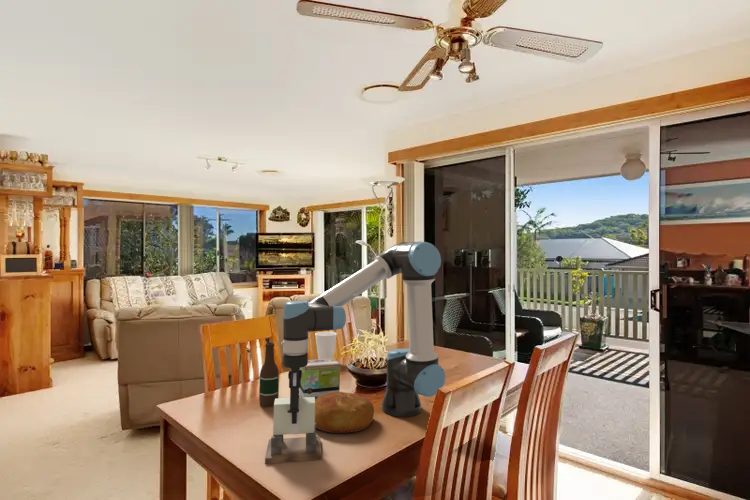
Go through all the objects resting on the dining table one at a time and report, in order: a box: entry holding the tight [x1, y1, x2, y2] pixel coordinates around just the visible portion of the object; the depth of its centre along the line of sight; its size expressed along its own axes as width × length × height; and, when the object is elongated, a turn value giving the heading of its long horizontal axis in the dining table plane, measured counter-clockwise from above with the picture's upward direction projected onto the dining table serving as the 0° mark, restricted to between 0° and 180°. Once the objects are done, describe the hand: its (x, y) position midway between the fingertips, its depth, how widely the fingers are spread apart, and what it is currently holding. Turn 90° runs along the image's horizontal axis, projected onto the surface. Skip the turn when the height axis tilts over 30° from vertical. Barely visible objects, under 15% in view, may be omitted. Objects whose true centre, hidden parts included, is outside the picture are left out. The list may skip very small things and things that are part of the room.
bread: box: [315, 391, 375, 434], centre depth 146 cm, size 23×23×10 cm
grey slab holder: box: [264, 423, 322, 465], centre depth 124 cm, size 16×12×6 cm
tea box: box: [299, 357, 341, 400], centre depth 171 cm, size 15×10×15 cm, turn 111°
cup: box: [314, 330, 338, 359], centre depth 222 cm, size 12×12×16 cm
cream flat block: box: [272, 397, 315, 436], centre depth 124 cm, size 12×5×9 cm, turn 100°
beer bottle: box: [258, 342, 280, 408], centre depth 163 cm, size 8×8×24 cm
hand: (294, 428), depth 124 cm, fingers closed on cream flat block, 5 cm apart
